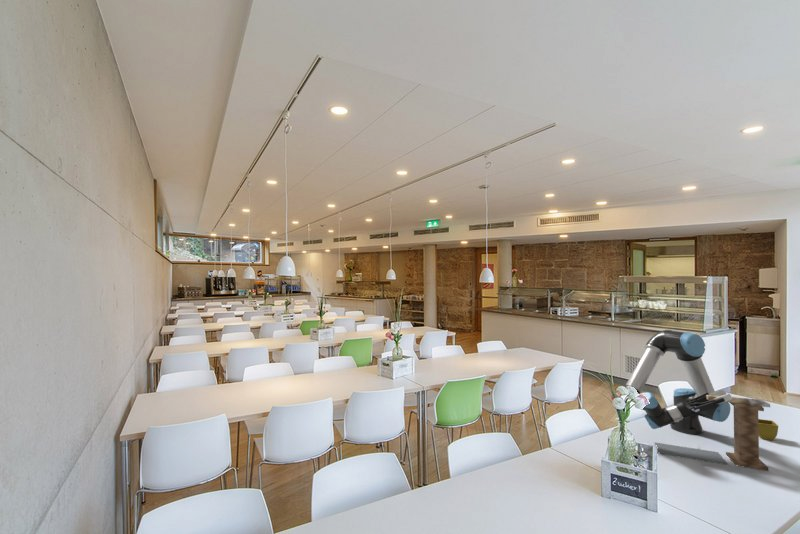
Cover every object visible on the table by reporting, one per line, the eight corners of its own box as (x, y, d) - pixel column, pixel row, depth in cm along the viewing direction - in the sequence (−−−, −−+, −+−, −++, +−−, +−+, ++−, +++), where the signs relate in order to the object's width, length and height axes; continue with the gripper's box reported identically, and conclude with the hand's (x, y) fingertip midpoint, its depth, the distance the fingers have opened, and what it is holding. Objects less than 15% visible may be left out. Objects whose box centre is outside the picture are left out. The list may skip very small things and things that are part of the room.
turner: (710, 401, 187) (710, 397, 187) (704, 397, 194) (704, 393, 194) (770, 407, 180) (770, 403, 180) (761, 402, 186) (761, 398, 186)
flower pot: (757, 439, 212) (757, 422, 212) (752, 433, 220) (751, 417, 220) (779, 442, 208) (778, 425, 208) (772, 436, 216) (772, 420, 216)
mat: (659, 453, 193) (659, 452, 193) (654, 443, 205) (654, 442, 205) (727, 464, 182) (727, 463, 182) (718, 453, 194) (717, 452, 194)
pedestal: (735, 465, 181) (734, 405, 182) (725, 454, 192) (725, 398, 193) (768, 470, 177) (767, 408, 177) (757, 459, 188) (756, 401, 188)
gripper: (678, 412, 204) (725, 395, 196) (689, 425, 186) (741, 407, 178) (669, 399, 206) (715, 381, 198) (679, 410, 187) (730, 392, 180)
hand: (727, 394), depth 188 cm, fingers open, 7 cm apart
